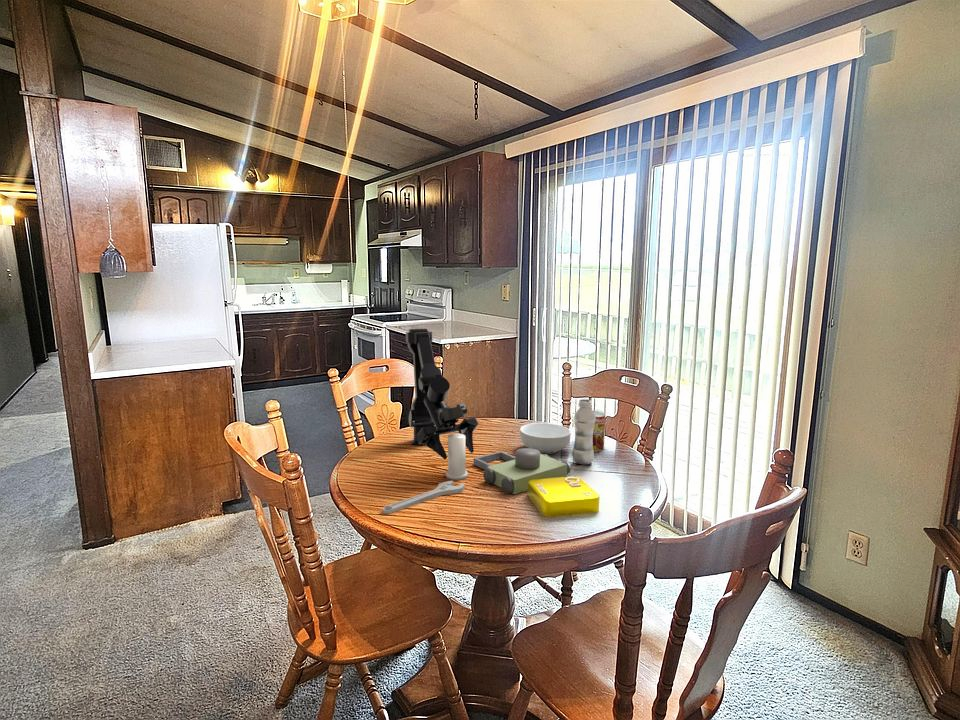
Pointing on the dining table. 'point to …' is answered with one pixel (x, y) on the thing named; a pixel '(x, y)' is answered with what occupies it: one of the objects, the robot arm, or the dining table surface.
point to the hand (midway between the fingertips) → (459, 455)
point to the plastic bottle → (584, 433)
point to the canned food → (599, 431)
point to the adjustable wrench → (425, 496)
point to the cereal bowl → (545, 437)
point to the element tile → (563, 496)
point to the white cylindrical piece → (456, 457)
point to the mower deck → (520, 469)
